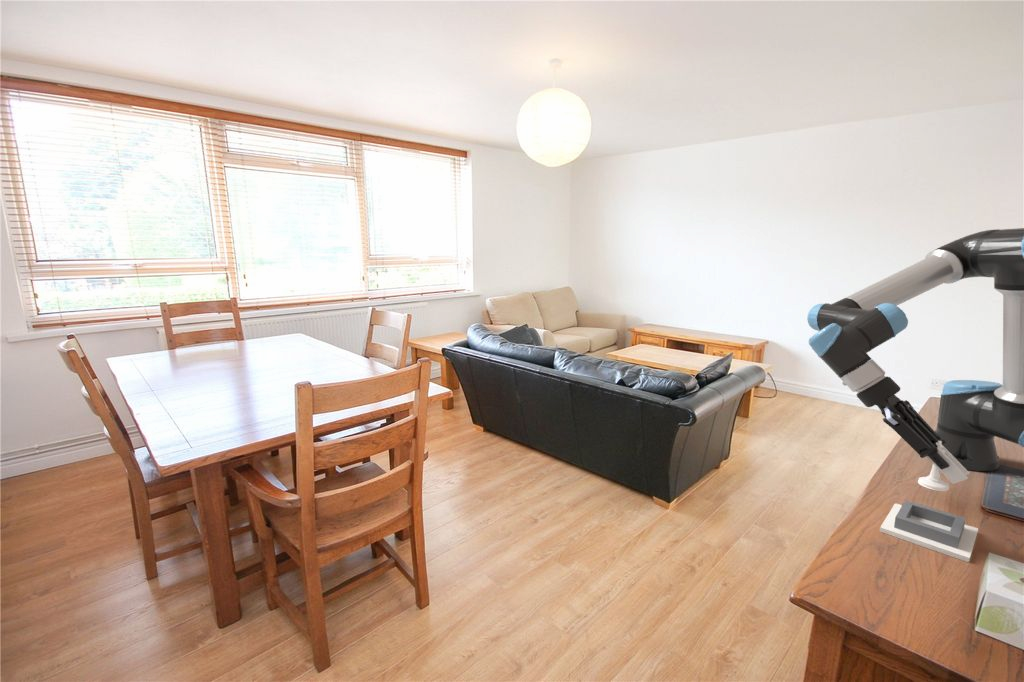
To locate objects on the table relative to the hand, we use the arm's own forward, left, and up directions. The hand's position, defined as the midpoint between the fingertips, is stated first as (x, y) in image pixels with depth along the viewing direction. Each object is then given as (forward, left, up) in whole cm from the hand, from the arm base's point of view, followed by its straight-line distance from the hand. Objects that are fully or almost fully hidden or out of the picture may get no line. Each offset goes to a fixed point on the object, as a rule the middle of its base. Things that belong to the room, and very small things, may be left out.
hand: (961, 478), depth 94 cm
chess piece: (+2, -3, -3) cm, 5 cm away
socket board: (+2, -3, -14) cm, 15 cm away
